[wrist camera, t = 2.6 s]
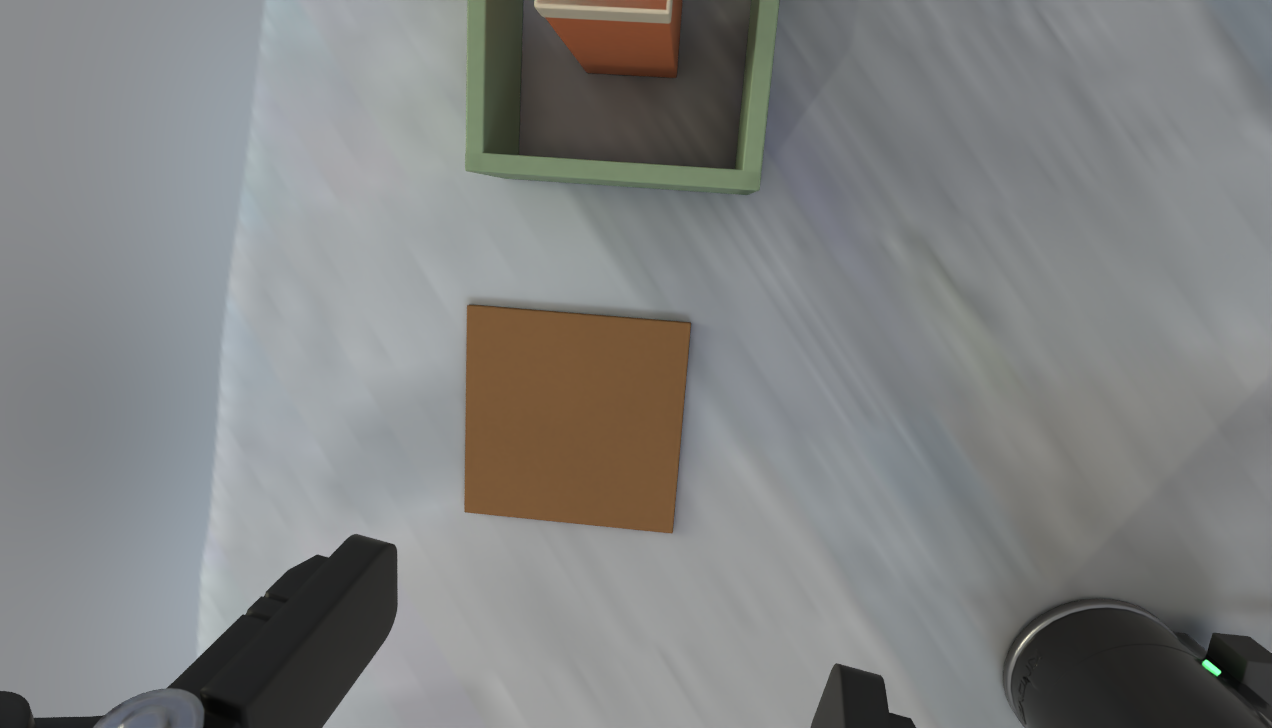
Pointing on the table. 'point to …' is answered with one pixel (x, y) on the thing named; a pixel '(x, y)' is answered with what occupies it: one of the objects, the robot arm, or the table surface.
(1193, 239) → the table surface
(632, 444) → the cork mat
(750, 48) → the bin
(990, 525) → the table surface
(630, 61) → the tea packet
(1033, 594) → the table surface
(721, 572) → the table surface
